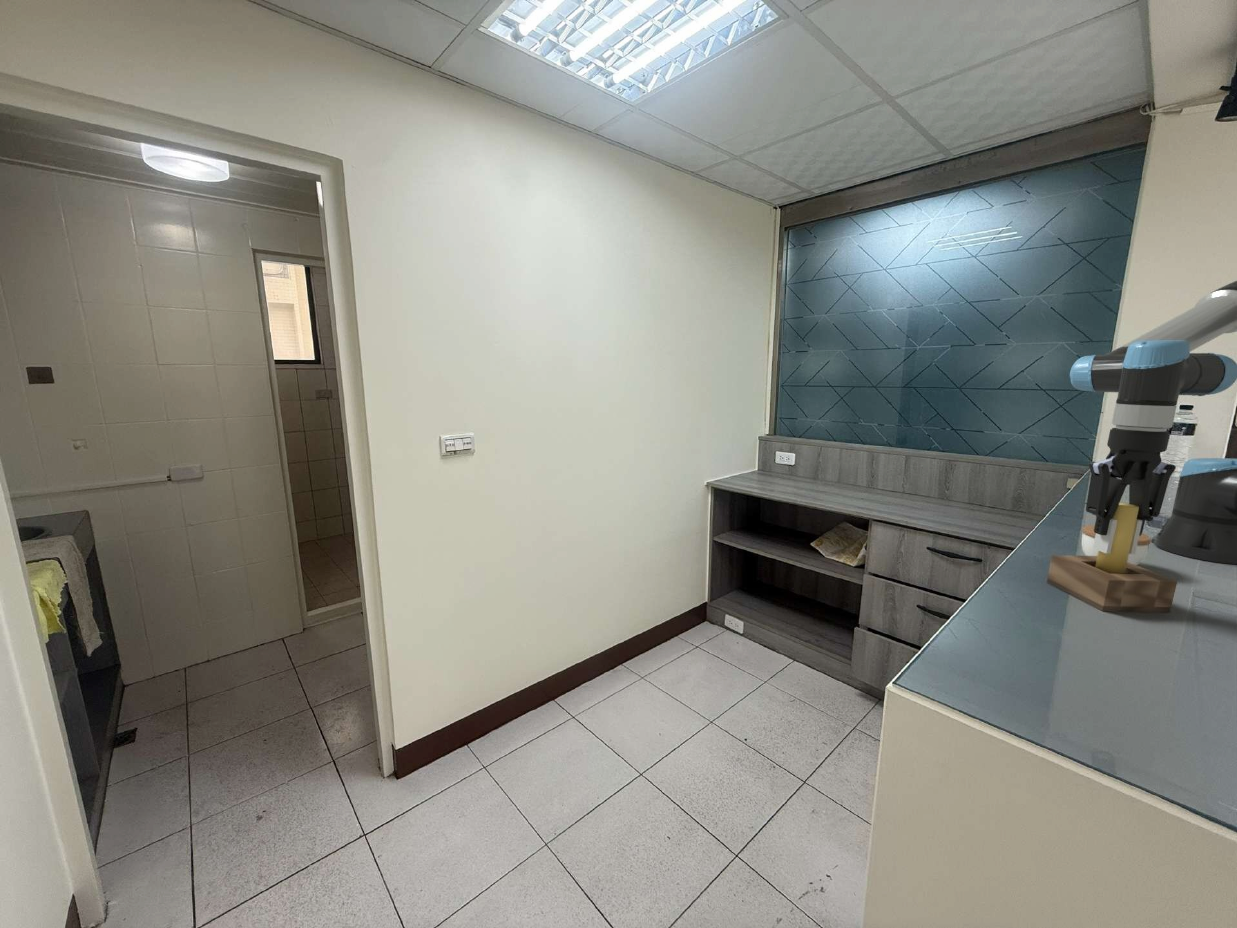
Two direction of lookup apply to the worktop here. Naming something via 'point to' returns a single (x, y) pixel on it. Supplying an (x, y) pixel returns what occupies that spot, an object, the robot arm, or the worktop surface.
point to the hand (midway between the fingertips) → (1113, 550)
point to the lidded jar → (1088, 550)
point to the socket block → (1111, 585)
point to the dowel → (1119, 541)
